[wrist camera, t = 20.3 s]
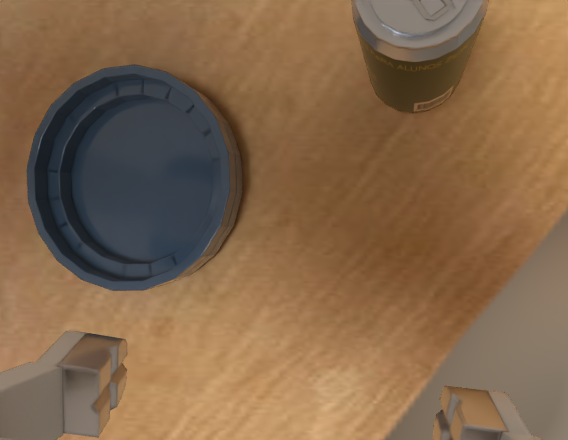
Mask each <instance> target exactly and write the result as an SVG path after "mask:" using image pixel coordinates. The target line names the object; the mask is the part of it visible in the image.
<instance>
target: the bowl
mask: <svg viewBox="0 0 568 440" xmlns="http://www.w3.org/2000/svg"><path fill="white" fill-rule="evenodd" d="M27 187H28V201H29V206H30V209H31V212H32V215H33V218H34V221H35V224H36V227H37V230H38V233H39V235H40V236H41V238H42V239H43V241H44V242H45V244H46V245H47V247H48V248H49V250H50V251H51V252H52V254H53V255H54V257H55V258H56V260H57V261H58V262H60V263H61V264H62V265H63V266H65V267H66V268H67V269H69V270H70V271H71V272H72V273H74V274H75V275H76V276H77V277H79V278H80V279H81V280H83V281H86V282H89V283H92V284H95V285H98V286H100V287H103V288H106V289H109V290H112V291H131V290H147V289H150V288H154V287H157V286H161V285H164V284H167V283H170V282H172V281H175V280H178V279H180V278H183V277H186V276H188V275H190V274H192V273H193V272H195V271H196V270H197V269H198V268H199V267H201V266H202V265H203V264H204V263H206V262H207V261H208V260H209V259H210V258H212V257H213V256H214V255H215V254H216V253H217V251H218V250H219V248H220V246H221V245H222V243H223V242H224V240H225V239H226V237H227V235H228V234H229V232H230V231H231V229H232V227H233V225H234V223H235V219H236V215H237V212H238V208H239V204H240V200H241V197H242V191H243V189H242V165H241V155H240V152H239V149H238V146H237V144H236V141H235V138H234V135H233V132H232V130H231V127H230V125H229V123H228V122H227V121H226V119H225V118H224V117H223V116H222V114H221V113H220V112H219V110H218V109H217V108H216V107H215V105H214V104H213V103H212V101H211V100H210V99H209V98H207V97H206V96H204V95H203V94H201V93H200V92H198V91H197V90H195V89H193V88H192V87H190V86H189V85H187V84H186V83H184V82H183V81H181V80H179V79H178V78H176V77H174V76H173V75H171V74H169V73H167V72H165V71H161V70H156V69H152V68H148V67H143V66H139V65H127V66H119V67H111V68H104V69H101V70H99V71H97V72H95V73H93V74H91V75H89V76H87V77H85V78H83V79H81V80H79V81H77V82H75V83H73V84H72V85H71V86H70V87H69V88H68V89H67V90H66V91H65V92H64V93H63V94H62V95H61V96H60V97H59V98H58V99H57V100H56V101H55V102H54V103H53V104H52V105H51V106H50V108H49V110H48V111H47V113H46V115H45V117H44V119H43V120H42V122H41V124H40V126H39V128H38V129H37V131H36V133H35V136H34V139H33V144H32V148H31V152H30V156H29V161H28V165H27Z"/></svg>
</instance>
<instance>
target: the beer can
mask: <svg viewBox="0 0 568 440" xmlns="http://www.w3.org/2000/svg"><path fill="white" fill-rule="evenodd" d="M488 1H489V0H351V2H352V11H353V19H354V23H355V26H356V30H357V34H358V37H359V41H360V45H361V48H362V52H363V56H364V59H365V63H366V67H367V70H368V74H369V78H370V81H371V84H372V86H373V88H374V90H375V92H376V94H377V96H378V97H379V98H380V99H381V100H382V101H383V102H384V103H385V104H386V105H388V106H390V107H392V108H394V109H396V110H398V111H403V112H409V113H416V112H423V111H428V110H430V109H432V108H434V107H436V106H438V105H441V104H442V103H443V102H444V101H445V100H446V99H447V98H448V97H449V96H451V95H452V93H453V92H454V90H455V88H456V87H457V85H458V83H459V82H460V79H461V77H462V74H463V71H464V69H465V66H466V63H467V61H468V58H469V56H470V53H471V50H472V48H473V45H474V43H475V40H476V37H477V35H478V32H479V30H480V27H481V24H482V22H483V19H484V16H485V14H486V10H487V6H488Z"/></svg>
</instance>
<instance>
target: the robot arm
mask: <svg viewBox="0 0 568 440" xmlns="http://www.w3.org/2000/svg"><path fill="white" fill-rule="evenodd" d="M126 356H127V342H126V340H125V339H121V338H115V337H109V336H103V335H97V334H91V333H85V332H78V331H66V332H65V333H64V334H63V335H62V336H61V337H60V338H59V339H58V340H57V341H56V342H55V343H54V344H53V345H52V346H51V347H50V348H49V349H48V350H47V351H46V352H45V353H44V354H43V355H42V356H41V357H40V358H39V359H38V360H37V361H36V363H30V362H29V363H26V364H23V365H20V366H18V367H15V368H12V369H9V370H7V371H4V372H1V373H0V440H56V439H58V438H59V437H61V436H62V435H63V433H66V434H74V435H83V436H91V437H99V436H100V434H101V432H102V431H103V429H104V427H105V426H106V424H107V422H108V421H109V419H110V410H112V409H114V408H115V407H117V406H118V404H119V402H120V400H121V398H122V395H123V392H124V389H125V385H126V379H127V369H126V368H125V366H124V365H123V363H122V362H123V360H124V359H125V357H126ZM440 402H441V405H442V408H443V409H442V410H441V411H440V412H439V413H438V414H436V417H435V422H434V428H433V440H542V439H540V438H539V437H537V436H532V435H531V434H530V432H529V430H528V428H527V427H526V425H525V423H524V421H523V420H522V418H521V416H520V415H519V413H518V411H517V409H516V407H515V406H514V404H513V402H512V400H511V399H510V397H509V395H508V394H506V393H505V392H495V391H486V390H476V389H468V388H459V387H451V386H444V388H443V390H442V393H441V397H440Z"/></svg>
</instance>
